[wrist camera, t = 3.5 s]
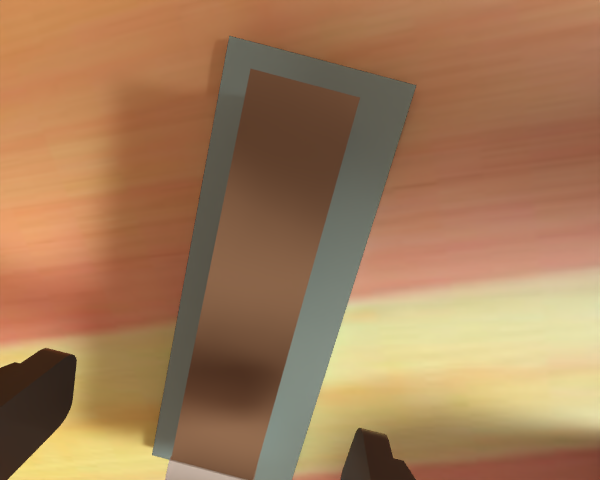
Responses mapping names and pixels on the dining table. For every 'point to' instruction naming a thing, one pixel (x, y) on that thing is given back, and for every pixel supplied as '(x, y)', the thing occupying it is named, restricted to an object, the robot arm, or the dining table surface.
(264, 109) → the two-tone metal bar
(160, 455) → the mat
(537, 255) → the dining table surface
